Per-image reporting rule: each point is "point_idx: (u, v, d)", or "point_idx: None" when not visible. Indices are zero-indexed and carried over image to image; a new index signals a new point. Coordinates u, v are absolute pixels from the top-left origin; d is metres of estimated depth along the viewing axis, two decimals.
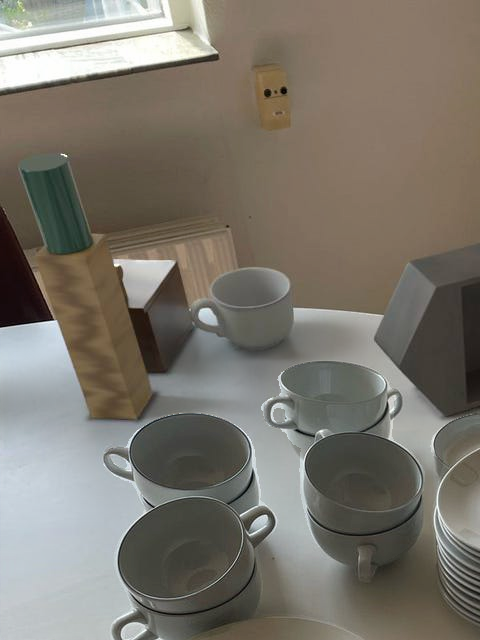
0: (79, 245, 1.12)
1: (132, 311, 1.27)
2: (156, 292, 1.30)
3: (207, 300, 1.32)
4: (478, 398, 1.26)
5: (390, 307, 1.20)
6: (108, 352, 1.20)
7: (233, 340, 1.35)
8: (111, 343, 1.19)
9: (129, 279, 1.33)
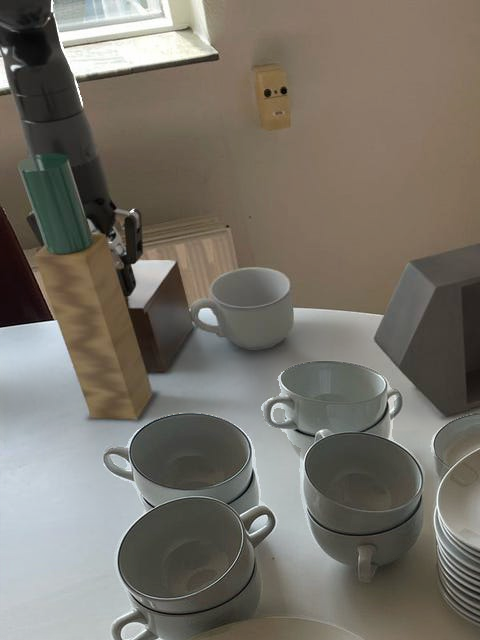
0: (79, 245, 1.12)
1: (132, 311, 1.27)
2: (156, 292, 1.30)
3: (207, 300, 1.32)
4: (478, 398, 1.26)
5: (390, 307, 1.20)
6: (108, 352, 1.20)
7: (233, 339, 1.35)
8: (111, 343, 1.19)
9: None
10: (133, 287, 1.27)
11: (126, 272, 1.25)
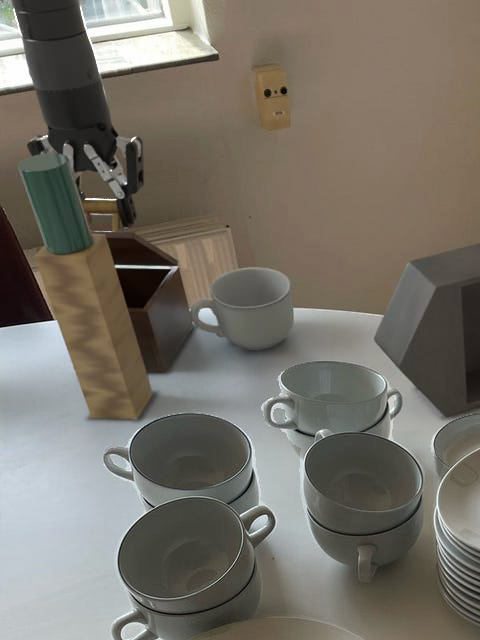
0: (79, 245, 1.12)
1: (121, 235, 1.23)
2: (150, 245, 1.28)
3: (207, 300, 1.32)
4: (478, 398, 1.26)
5: (390, 307, 1.20)
6: (108, 352, 1.20)
7: (233, 339, 1.35)
8: (111, 343, 1.19)
9: None
10: (134, 219, 1.26)
11: (127, 203, 1.24)
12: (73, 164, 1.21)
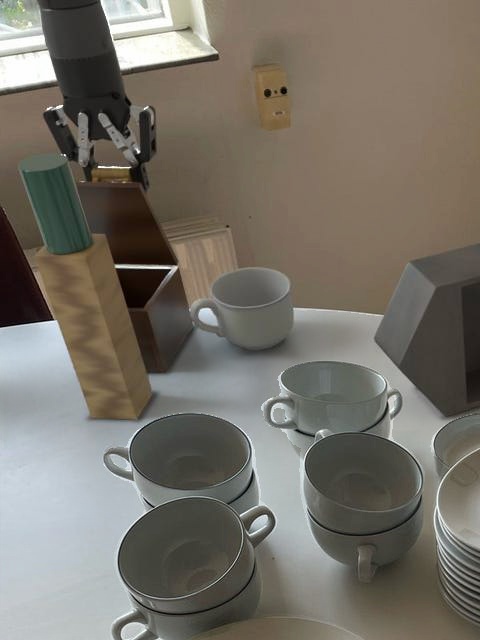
0: (79, 245, 1.12)
1: (127, 184, 1.24)
2: (154, 214, 1.29)
3: (207, 300, 1.32)
4: (478, 398, 1.26)
5: (390, 307, 1.20)
6: (108, 352, 1.20)
7: (233, 339, 1.35)
8: (111, 343, 1.19)
9: None
10: (146, 187, 1.29)
11: (140, 171, 1.27)
12: (88, 132, 1.24)
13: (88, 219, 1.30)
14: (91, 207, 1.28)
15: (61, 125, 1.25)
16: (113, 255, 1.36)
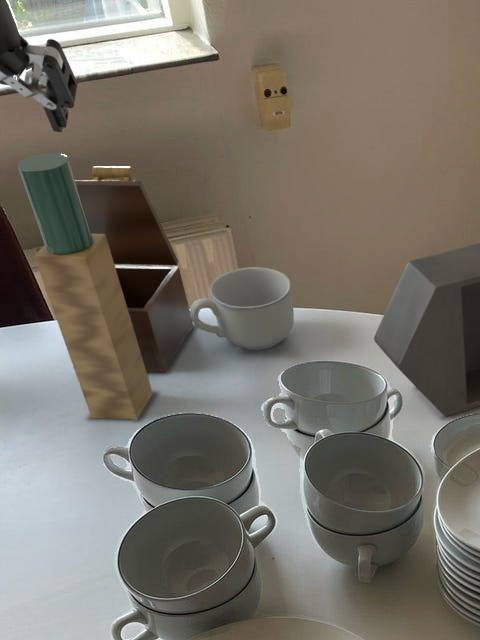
0: (79, 245, 1.12)
1: (128, 183, 1.24)
2: (155, 213, 1.29)
3: (207, 300, 1.32)
4: (478, 398, 1.26)
5: (390, 307, 1.20)
6: (108, 352, 1.20)
7: (233, 340, 1.35)
8: (111, 343, 1.19)
9: None
10: (66, 121, 1.00)
11: (58, 110, 0.98)
12: None
13: (88, 218, 1.30)
14: (92, 206, 1.28)
15: None
16: (113, 255, 1.36)
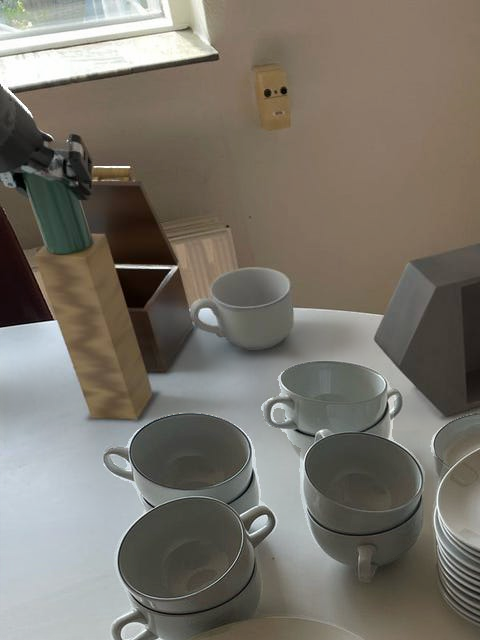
0: (79, 244, 1.12)
1: (128, 183, 1.24)
2: (155, 213, 1.29)
3: (207, 300, 1.32)
4: (478, 398, 1.26)
5: (390, 307, 1.20)
6: (108, 352, 1.20)
7: (233, 339, 1.35)
8: (111, 343, 1.19)
9: None
10: (91, 190, 1.10)
11: (81, 185, 1.08)
12: (11, 173, 1.04)
13: (88, 218, 1.30)
14: (92, 206, 1.28)
15: None
16: (113, 255, 1.36)
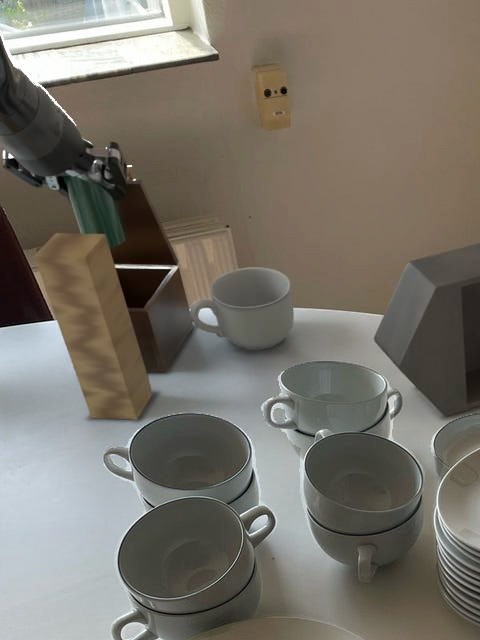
0: (114, 240, 1.25)
1: (128, 182, 1.24)
2: (155, 212, 1.29)
3: (207, 300, 1.32)
4: (478, 398, 1.26)
5: (390, 307, 1.20)
6: (108, 352, 1.20)
7: (233, 340, 1.35)
8: (111, 343, 1.19)
9: None
10: (125, 191, 1.23)
11: (117, 187, 1.21)
12: (56, 177, 1.17)
13: None
14: None
15: (22, 165, 1.17)
16: (113, 255, 1.36)
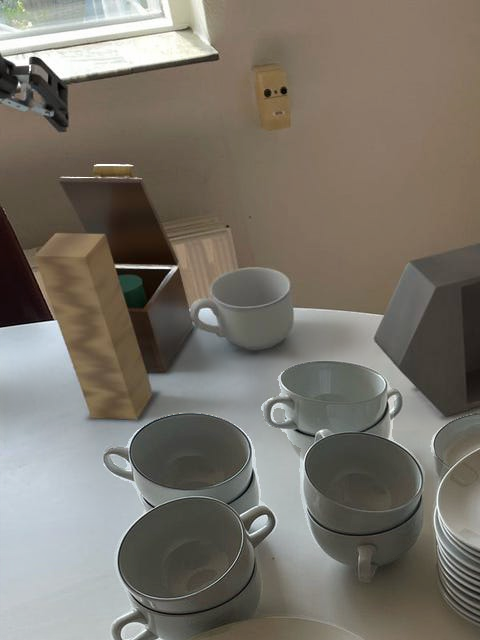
0: None
1: (129, 180, 1.24)
2: (155, 211, 1.29)
3: (207, 300, 1.32)
4: (478, 398, 1.26)
5: (390, 307, 1.20)
6: (108, 352, 1.20)
7: (233, 339, 1.35)
8: (111, 343, 1.19)
9: None
10: (68, 121, 1.07)
11: (57, 114, 1.05)
12: None
13: (89, 216, 1.30)
14: (92, 203, 1.28)
15: None
16: (113, 254, 1.36)
